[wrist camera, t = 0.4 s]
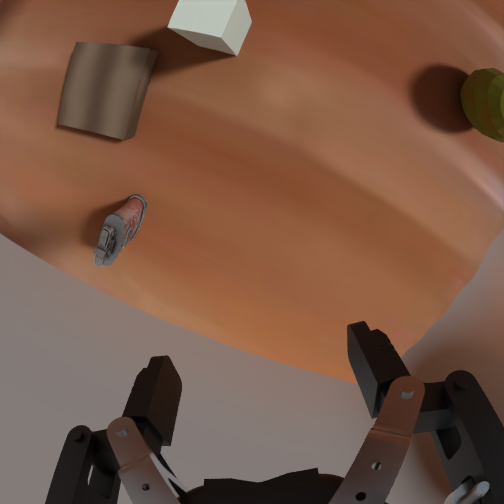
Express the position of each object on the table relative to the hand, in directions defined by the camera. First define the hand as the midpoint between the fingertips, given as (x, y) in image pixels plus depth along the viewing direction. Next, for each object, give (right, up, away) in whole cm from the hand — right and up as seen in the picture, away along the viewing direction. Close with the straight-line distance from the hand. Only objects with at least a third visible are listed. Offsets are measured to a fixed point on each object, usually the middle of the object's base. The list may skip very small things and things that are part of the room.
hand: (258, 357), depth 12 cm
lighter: (-18, +10, +28) cm, 35 cm away
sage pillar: (-3, +30, +14) cm, 34 cm away
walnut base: (-19, +27, +18) cm, 38 cm away
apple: (+31, +26, +14) cm, 43 cm away
